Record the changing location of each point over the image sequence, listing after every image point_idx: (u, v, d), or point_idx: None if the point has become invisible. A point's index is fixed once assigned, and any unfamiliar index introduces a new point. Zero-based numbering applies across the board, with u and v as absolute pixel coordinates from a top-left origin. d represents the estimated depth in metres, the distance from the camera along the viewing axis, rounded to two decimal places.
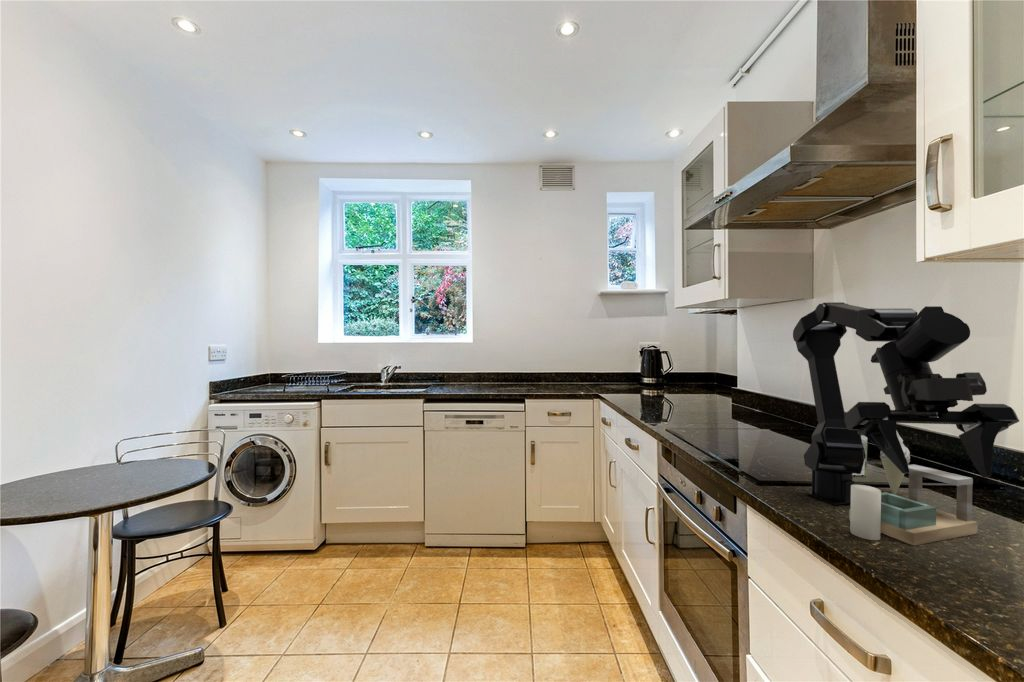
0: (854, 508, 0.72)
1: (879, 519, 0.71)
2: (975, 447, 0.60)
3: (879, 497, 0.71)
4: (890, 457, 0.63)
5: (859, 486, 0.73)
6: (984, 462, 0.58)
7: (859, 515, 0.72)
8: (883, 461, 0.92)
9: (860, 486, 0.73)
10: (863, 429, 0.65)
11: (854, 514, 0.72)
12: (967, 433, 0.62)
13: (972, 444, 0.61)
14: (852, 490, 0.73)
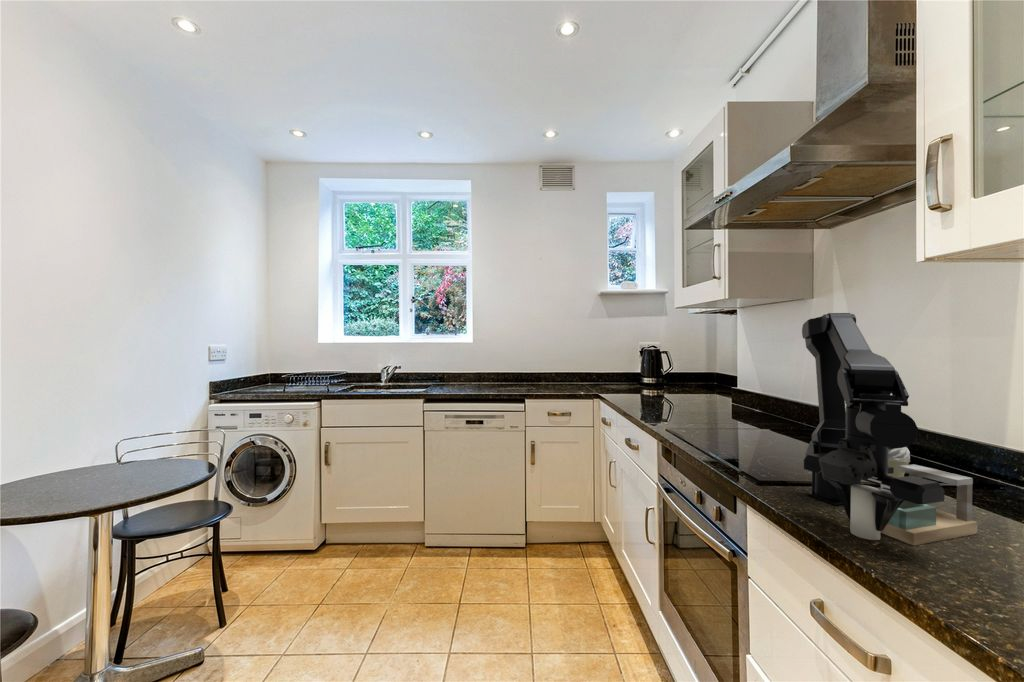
0: (854, 508, 0.72)
1: None
2: None
3: None
4: None
5: (859, 486, 0.73)
6: (875, 520, 0.70)
7: (859, 515, 0.72)
8: None
9: (860, 486, 0.73)
10: None
11: (854, 514, 0.72)
12: None
13: None
14: (852, 490, 0.73)
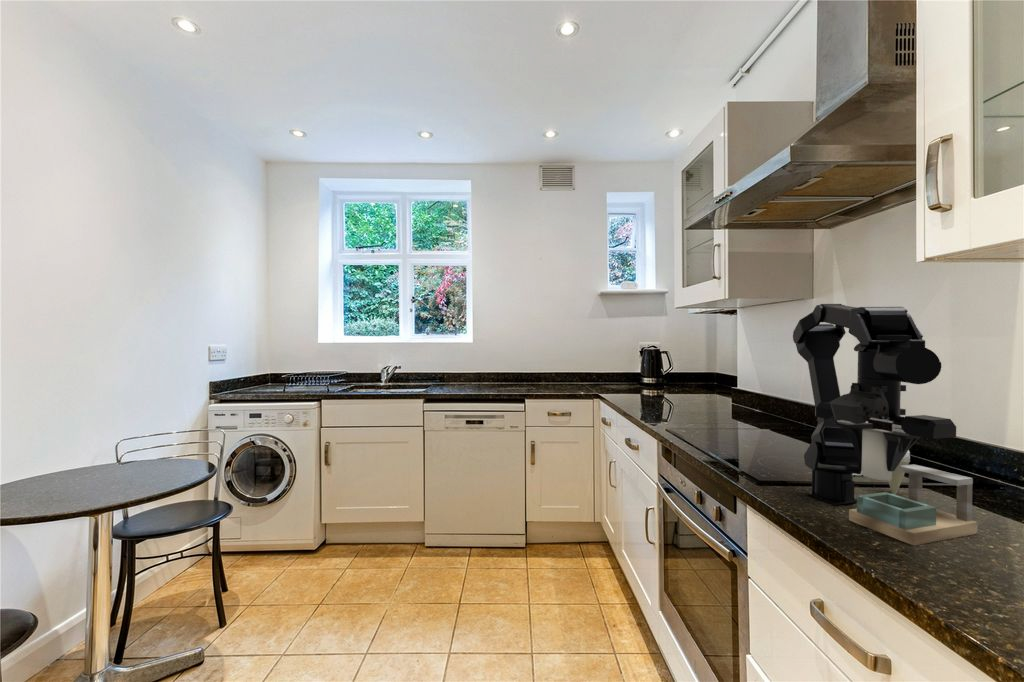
0: (865, 450, 0.73)
1: None
2: None
3: None
4: None
5: (871, 429, 0.74)
6: (887, 460, 0.71)
7: (870, 457, 0.73)
8: None
9: (872, 429, 0.74)
10: None
11: (865, 456, 0.73)
12: None
13: None
14: (863, 433, 0.74)
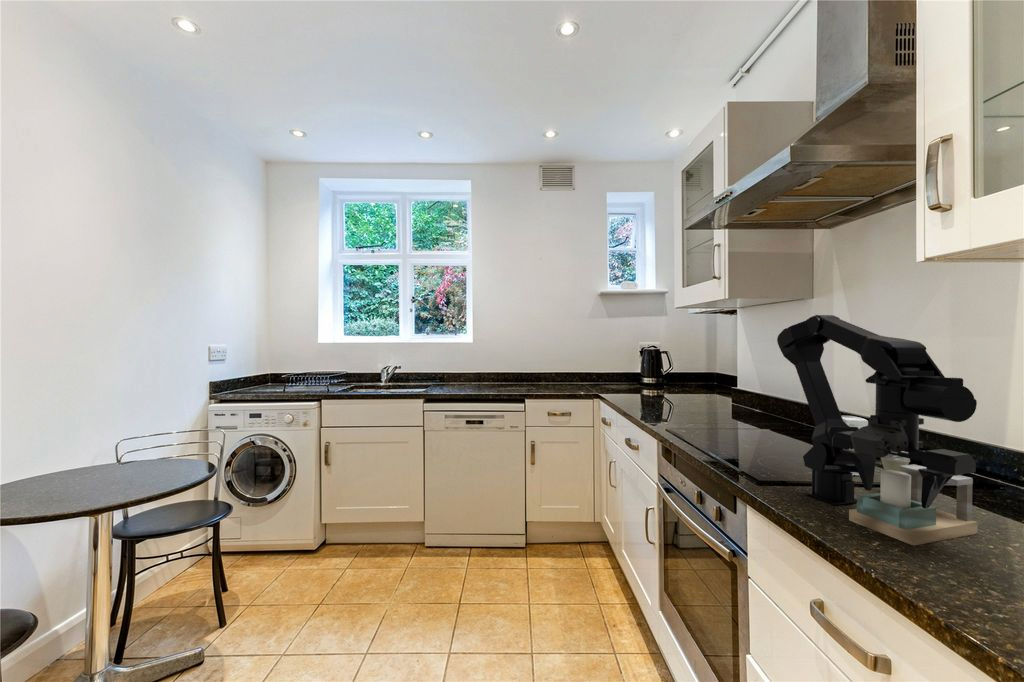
0: (884, 492, 0.75)
1: (909, 503, 0.73)
2: None
3: (909, 481, 0.73)
4: None
5: (889, 471, 0.76)
6: (921, 497, 0.70)
7: (889, 499, 0.74)
8: (883, 461, 0.92)
9: (890, 471, 0.76)
10: None
11: (884, 498, 0.74)
12: None
13: None
14: (882, 475, 0.75)
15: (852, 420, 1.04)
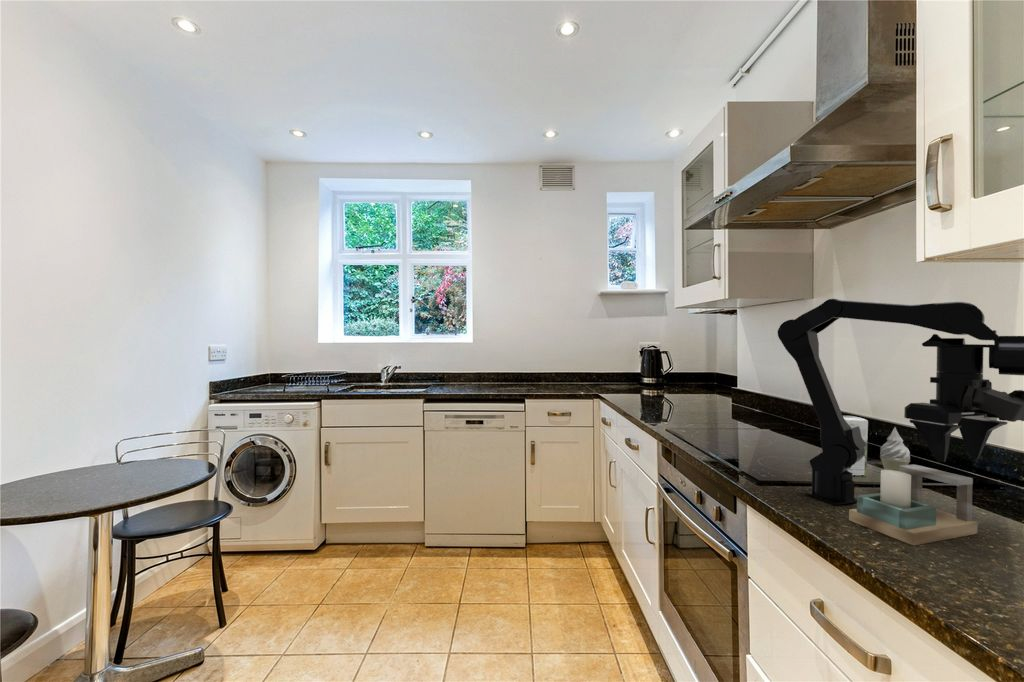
0: (885, 492, 0.75)
1: (910, 502, 0.73)
2: (974, 434, 0.76)
3: (909, 481, 0.73)
4: (931, 446, 0.74)
5: (889, 471, 0.76)
6: (979, 449, 0.75)
7: (889, 498, 0.74)
8: (883, 461, 0.92)
9: (890, 471, 0.76)
10: (925, 424, 0.73)
11: (884, 497, 0.75)
12: (969, 420, 0.77)
13: (971, 431, 0.77)
14: (882, 474, 0.75)
15: (852, 420, 1.04)
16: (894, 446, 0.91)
